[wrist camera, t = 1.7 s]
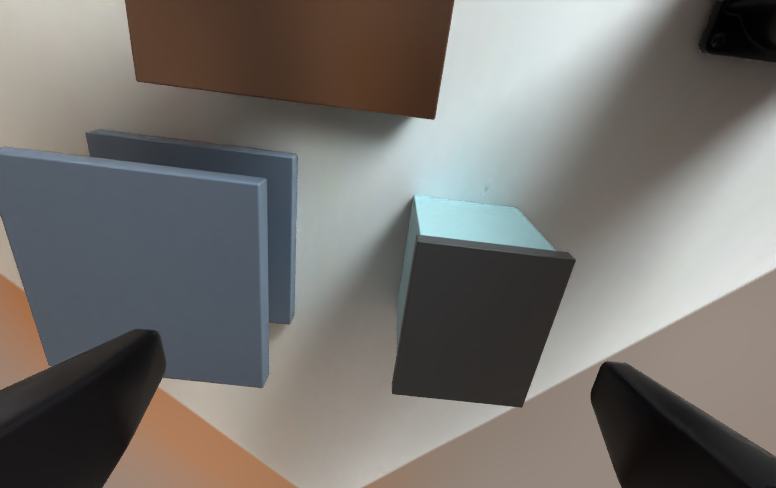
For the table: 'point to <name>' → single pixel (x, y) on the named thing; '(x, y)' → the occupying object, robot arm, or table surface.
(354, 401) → the table surface
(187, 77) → the brown square pedestal
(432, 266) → the container
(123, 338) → the robot arm
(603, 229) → the table surface
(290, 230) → the blue-grey square pedestal
